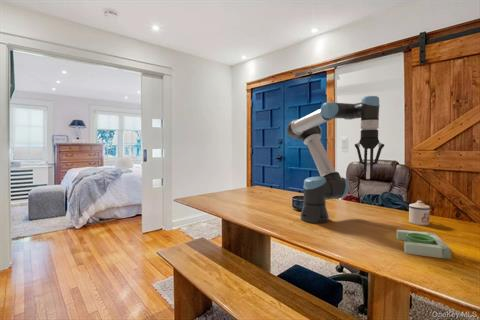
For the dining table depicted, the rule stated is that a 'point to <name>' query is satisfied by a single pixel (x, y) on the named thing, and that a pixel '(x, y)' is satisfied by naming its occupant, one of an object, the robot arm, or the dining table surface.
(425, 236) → the ramekin
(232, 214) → the dining table surface
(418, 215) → the teacup with lid
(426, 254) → the holder
